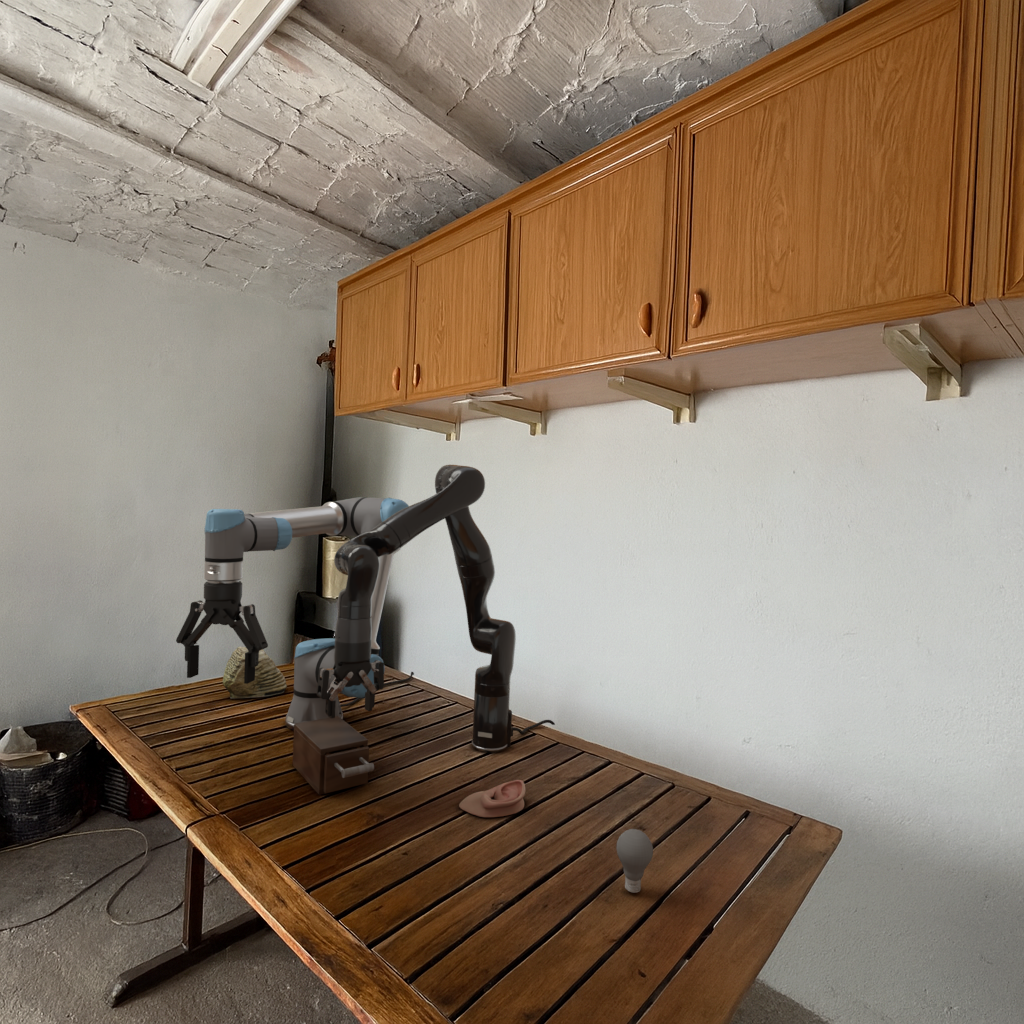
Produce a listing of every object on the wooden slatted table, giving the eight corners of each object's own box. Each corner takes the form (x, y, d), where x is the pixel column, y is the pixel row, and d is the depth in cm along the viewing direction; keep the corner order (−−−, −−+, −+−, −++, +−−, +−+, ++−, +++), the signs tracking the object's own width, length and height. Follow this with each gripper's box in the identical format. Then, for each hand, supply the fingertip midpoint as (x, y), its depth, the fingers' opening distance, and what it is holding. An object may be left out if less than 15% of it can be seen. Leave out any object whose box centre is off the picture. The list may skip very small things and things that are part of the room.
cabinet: (366, 783, 141) (368, 739, 141) (318, 795, 134) (320, 749, 134) (336, 755, 155) (338, 715, 155) (292, 765, 149) (294, 723, 148)
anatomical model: (455, 794, 129) (470, 770, 140) (454, 813, 129) (469, 788, 140) (519, 803, 126) (529, 778, 137) (518, 822, 126) (528, 796, 137)
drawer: (379, 794, 134) (381, 757, 134) (336, 805, 128) (337, 767, 128) (339, 757, 152) (341, 724, 152) (300, 765, 146) (301, 732, 146)
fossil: (218, 695, 195) (220, 647, 195) (278, 685, 208) (279, 640, 207) (228, 703, 189) (230, 653, 188) (289, 692, 201) (290, 645, 201)
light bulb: (610, 879, 108) (613, 822, 108) (644, 879, 109) (647, 822, 109) (619, 902, 102) (622, 840, 102) (655, 901, 103) (658, 840, 103)
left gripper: (159, 579, 134) (157, 678, 135) (266, 586, 130) (263, 689, 130) (183, 575, 142) (181, 669, 142) (286, 582, 137) (283, 679, 138)
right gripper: (328, 644, 127) (325, 725, 127) (392, 637, 136) (388, 712, 136) (313, 637, 132) (310, 714, 133) (375, 631, 142) (372, 703, 142)
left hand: (220, 679), depth 136 cm, fingers open, 13 cm apart
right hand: (350, 713), depth 134 cm, fingers open, 8 cm apart
